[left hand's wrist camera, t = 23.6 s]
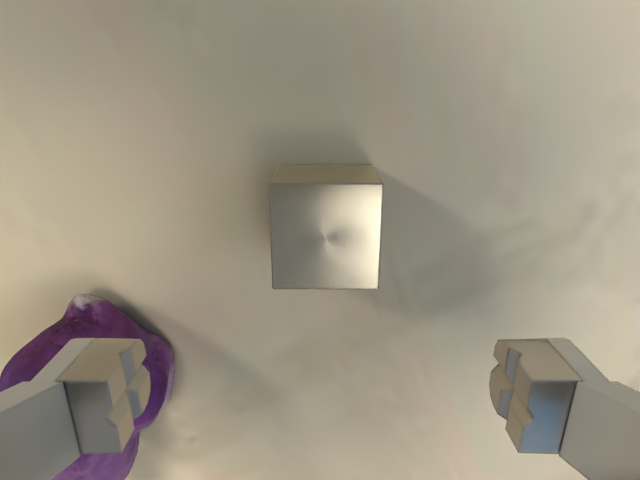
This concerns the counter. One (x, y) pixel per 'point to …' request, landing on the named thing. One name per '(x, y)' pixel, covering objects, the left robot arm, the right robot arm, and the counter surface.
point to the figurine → (98, 322)
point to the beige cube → (325, 226)
